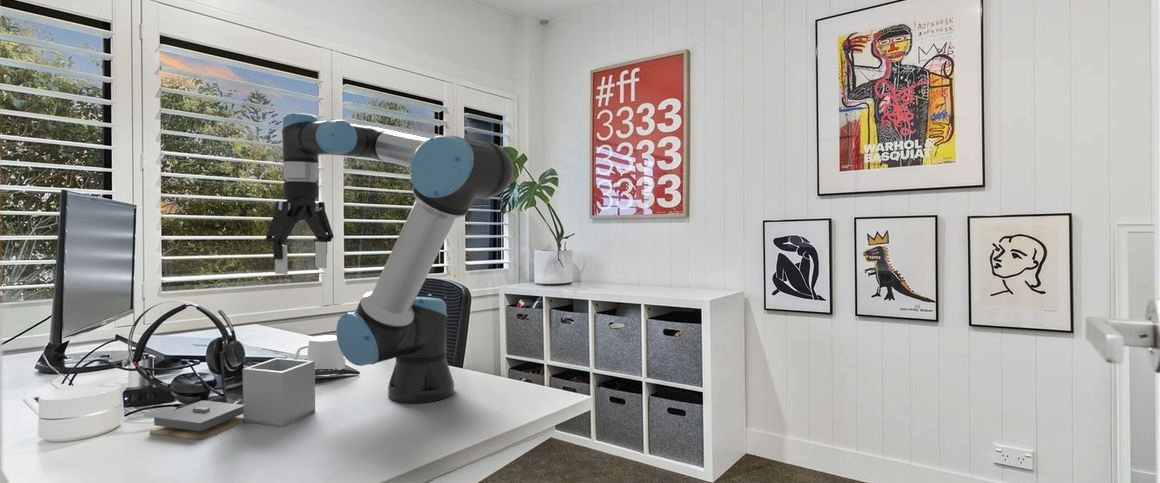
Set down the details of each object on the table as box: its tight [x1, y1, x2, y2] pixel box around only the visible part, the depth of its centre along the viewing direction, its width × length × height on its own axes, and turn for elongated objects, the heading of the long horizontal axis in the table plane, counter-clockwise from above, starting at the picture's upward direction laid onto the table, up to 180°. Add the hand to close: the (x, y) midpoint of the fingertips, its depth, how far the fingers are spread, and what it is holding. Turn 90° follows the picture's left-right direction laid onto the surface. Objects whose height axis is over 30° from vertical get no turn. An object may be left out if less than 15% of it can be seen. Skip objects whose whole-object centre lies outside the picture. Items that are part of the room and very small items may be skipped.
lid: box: [153, 399, 243, 431], centre depth 124 cm, size 11×11×3 cm
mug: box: [295, 334, 346, 370], centre depth 163 cm, size 12×9×8 cm
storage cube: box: [242, 357, 316, 427], centre depth 129 cm, size 10×10×11 cm
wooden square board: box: [149, 414, 245, 441], centre depth 124 cm, size 12×12×1 cm
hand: (302, 271), depth 146 cm, fingers open, 13 cm apart
